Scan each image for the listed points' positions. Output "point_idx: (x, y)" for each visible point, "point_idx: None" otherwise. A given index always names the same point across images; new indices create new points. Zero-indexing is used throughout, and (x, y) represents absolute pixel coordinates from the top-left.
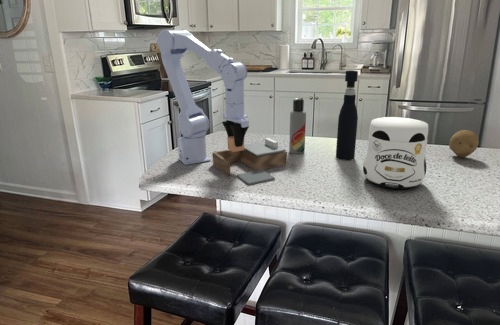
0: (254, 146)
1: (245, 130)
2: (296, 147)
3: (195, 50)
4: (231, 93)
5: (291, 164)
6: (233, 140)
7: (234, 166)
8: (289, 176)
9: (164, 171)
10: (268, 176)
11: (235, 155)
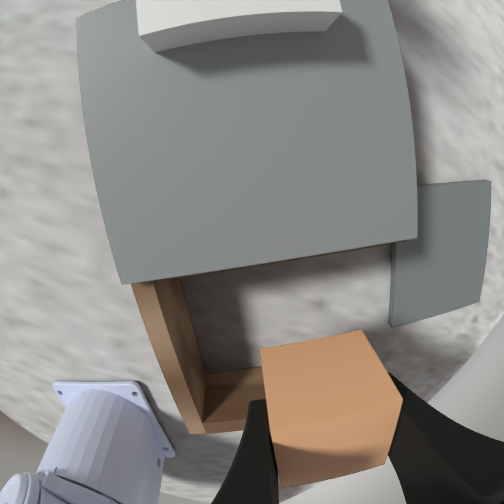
0: (196, 173)
1: (496, 452)
2: None
3: None
4: None
5: None
6: (384, 456)
7: (254, 304)
8: (480, 101)
9: (218, 488)
10: (473, 200)
11: (172, 297)
